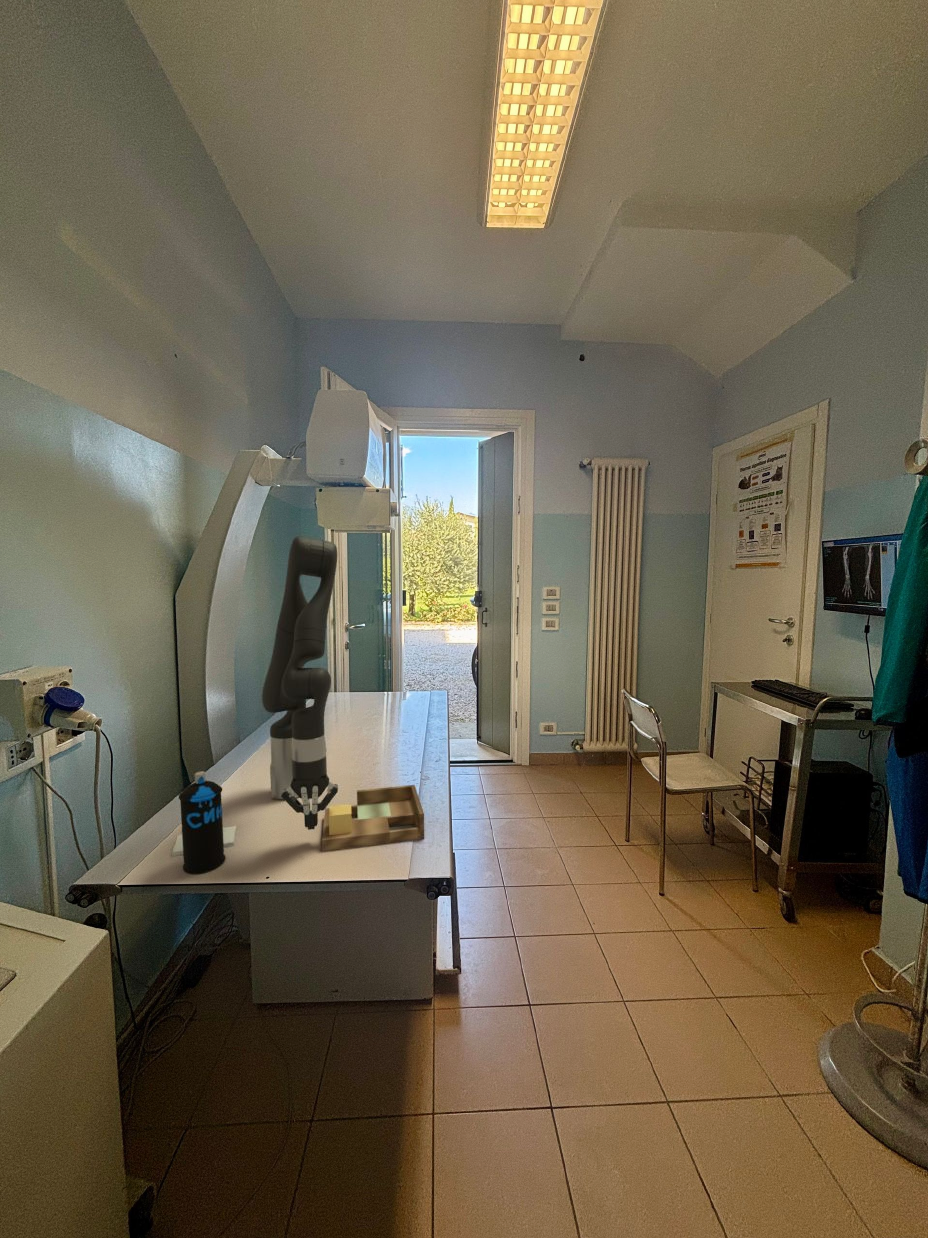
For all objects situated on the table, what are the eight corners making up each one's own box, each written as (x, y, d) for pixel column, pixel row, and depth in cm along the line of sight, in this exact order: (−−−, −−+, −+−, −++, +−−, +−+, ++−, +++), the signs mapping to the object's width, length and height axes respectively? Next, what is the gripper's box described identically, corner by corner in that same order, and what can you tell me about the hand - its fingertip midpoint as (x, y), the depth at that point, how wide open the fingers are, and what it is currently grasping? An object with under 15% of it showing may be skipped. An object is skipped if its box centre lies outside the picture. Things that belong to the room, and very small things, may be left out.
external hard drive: (179, 841, 119) (236, 831, 123) (172, 859, 111) (234, 847, 115) (178, 834, 118) (236, 824, 123) (172, 851, 111) (233, 840, 115)
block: (329, 835, 115) (328, 816, 114) (330, 824, 120) (329, 806, 119) (351, 832, 116) (351, 813, 115) (351, 822, 121) (351, 804, 120)
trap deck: (322, 851, 113) (321, 825, 112) (325, 816, 129) (324, 793, 129) (424, 838, 118) (424, 813, 117) (414, 806, 134) (414, 784, 134)
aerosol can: (177, 863, 108) (172, 773, 106) (217, 849, 114) (213, 763, 112) (189, 879, 102) (184, 784, 101) (231, 863, 108) (227, 773, 106)
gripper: (276, 763, 110) (279, 839, 111) (338, 758, 112) (340, 832, 114) (280, 751, 117) (283, 823, 118) (339, 747, 120) (341, 817, 121)
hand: (311, 827), depth 116 cm, fingers closed
